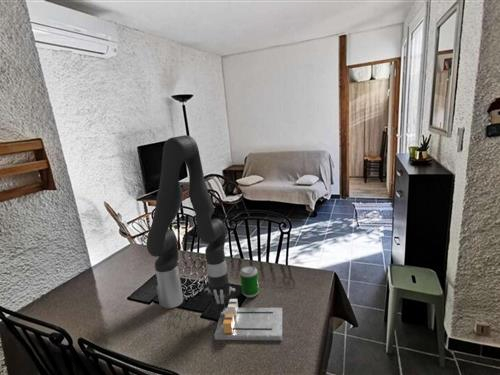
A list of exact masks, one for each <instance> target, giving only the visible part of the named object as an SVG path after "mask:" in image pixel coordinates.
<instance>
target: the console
mask: <svg viewBox="0 0 500 375" xmlns="http://www.w3.org/2000/svg"><path fill="white" fill-rule="evenodd" d="M225 314H228V307H225V310H224V312H220V315H219V318H218V322H217V324H216V328H215V332H214V334H213V335H214V340H218V341H219V340H222V341H223V340H226V341H229V340H230V341H231V340H232V341H283V307H238V311H237V315H236V316H234V322H235V324H234V328H233V332H232V333H224V328H223V321H224V317H225Z"/></svg>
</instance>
